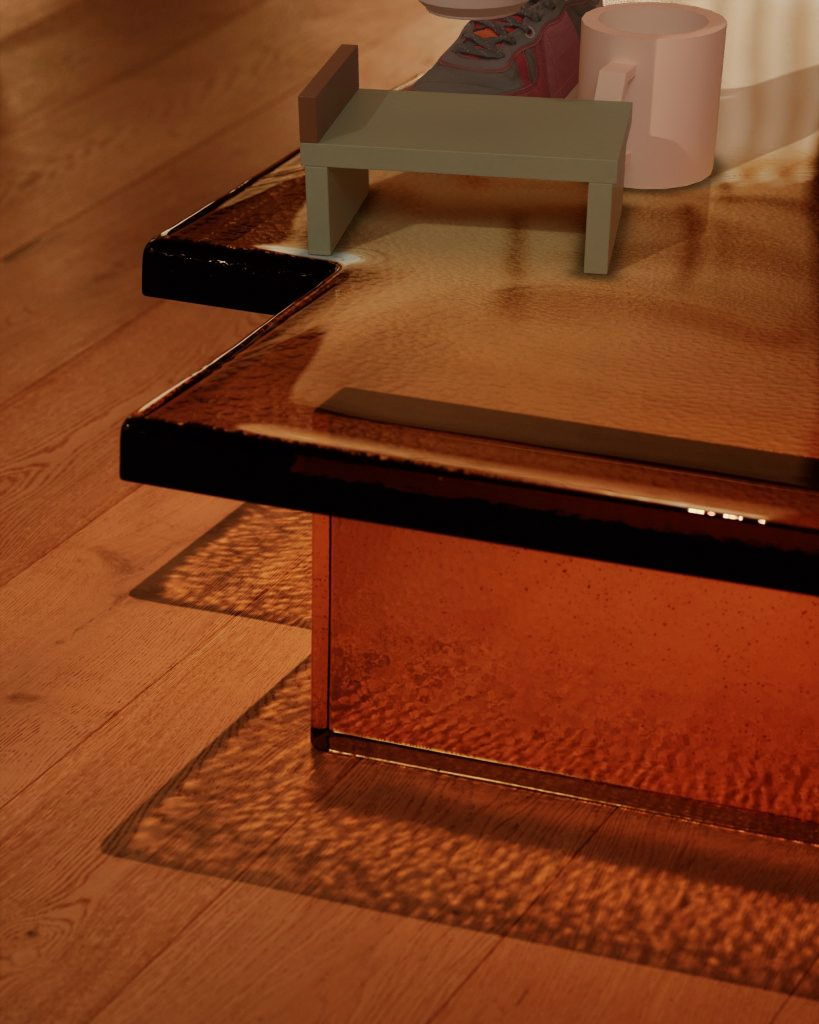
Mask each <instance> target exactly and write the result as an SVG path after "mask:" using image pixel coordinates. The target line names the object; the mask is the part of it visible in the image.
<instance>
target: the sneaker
mask: <svg viewBox="0 0 819 1024" xmlns="http://www.w3.org/2000/svg"><path fill="white" fill-rule="evenodd" d="M603 6H604V1H603V0H529V1H528V2H527V3H525V4H524V5H523V6H522V7H521V9H520V11H519V12H517V13H515V14H513V15H510V16H507V17H503V18H497V19H490V20H468V22H467V23H466V24H465V25H464V26H463V28H462V30H461V31H460V34H459V35H458V37H457V38H456V40H455V41H454V42H453V43H452V44H451V45H450V46H449V47H448V48H447V49H446V50H445V51H444V52H443V53H442V54H441V56H439V58H438V59H437V61H436V62H435V63H434V64H433V66H431V68H429V69H428V70H427V71H426V72H424V74H423V75H422V76H421V77H420V78H418V79H417V80H416V81H415V82H414V83H412V85H410V87H408V88H407V89H406V91H421V92H441V93H460V94H480V95H500V96H520V97H540V98H560V99H578V82H579V61H580V40H581V19H582V17H583V16H584V14H585V13H586V12H588V11H591V10H593V9H595V8H598V7H603Z"/></svg>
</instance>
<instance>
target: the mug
mask: <svg viewBox="0 0 819 1024" xmlns="http://www.w3.org/2000/svg"><path fill="white" fill-rule="evenodd" d="M727 27H728V21H727V19H726V18H725V17H724V16H723V15H722V14H719V13H717V12H716V11H713V10H711V9H707V8H704V7H700V6H695V5H690V4H684V3H683V4H682V3H675V2H661V1H637V2H636V1H633V2H631V1H630V2H622V3H613V4H608V5H607V4H606V5H603V7H598V8H595V9H593V10H591V11H588V12H586V13H585V14H584V16H583V17H582V19H581V40H580V61H579V82H578V99H580V100H600V101H620V102H633V108H632V123H631V127H630V132H629V136H628V140H627V144H626V158H625V174H624V188H626V189H635V190H669V189H675V188H682V187H688V186H691V185H693V184H697V183H700V182H702V181H704V180H706V179H707V178H708V177H710V176H711V175H712V173H713V170H714V166H715V165H714V164H715V155H716V143H717V135H718V134H717V132H718V124H719V123H718V121H719V113H720V112H719V111H720V103H721V102H720V101H721V93H722V92H721V91H722V81H723V80H722V79H723V70H724V59H725V48H726V38H727Z"/></svg>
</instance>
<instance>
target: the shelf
mask: <svg viewBox="0 0 819 1024" xmlns="http://www.w3.org/2000/svg"><path fill="white" fill-rule="evenodd" d="M359 62H360V61H359V45H358V44H349V43H346V44H345V43H344V44H343V43H341V44H340V45H339V46H338V47H337V49H336V50H335V51H334V52H333V53H332V55H331V56H330V57H329V58H328V59H327V61H326V62H325V63H324V64H323V65H322V67H321V68H320V69H319V70H318V72H317V73H316V74H315V75H314V76H313V78H312V79H310V81H309V82H308V83H307V85H306V86H305V87H304V88H303V90H301V92H300V93H299V94H298V95H297V105H298V107H297V108H298V129H299V132H298V133H299V153H300V155H299V156H300V166H302V167H304V175H305V176H304V179H305V180H304V181H305V203H306V204H305V205H306V224H307V225H306V227H307V229H306V230H307V249H308V250H307V251H308V255H313V256H326V257H327V256H328V257H329V256H331V255H332V254H333V252H334V251H335V249H336V248H337V246H338V244H339V242H340V240H341V239H342V238H343V236H344V234H345V233H346V231H347V230H348V228H349V226H350V225H351V223H352V222H353V219H354V218H355V216H356V214H357V213H358V212H359V210H360V208H361V207H362V205H363V203H364V202H365V200H366V198H367V197H368V195H369V193H370V170H371V171H386V172H387V171H388V172H404V173H405V172H406V173H420V174H422V173H423V174H437V175H442V174H443V175H454V176H470V177H471V176H474V177H488V178H489V177H490V178H506V179H522V180H523V179H525V180H540V181H541V180H542V181H556V182H557V181H559V182H573V183H588V184H587V204H586V223H585V241H584V243H585V244H584V260H583V261H584V262H583V274H589V275H590V274H591V275H604V276H605V275H606V276H607V275H608V273H609V268H610V264H611V260H612V255H613V252H614V246H615V241H616V238H617V233H618V229H619V224H620V220H621V215H622V210H623V205H624V203H623V202H624V174H625V158H626V144H627V140H628V136H629V132H630V127H631V123H632V108H633V102H620V101H600V100H580V99H560V98H540V97H520V96H500V95H480V94H460V93H441V92H421V91H407V90H398V89H397V90H396V89H381V88H379V89H378V88H362V87H361V88H360V73H359V72H360V68H359V67H360V65H359V64H360V63H359Z"/></svg>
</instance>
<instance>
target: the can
mask: <svg viewBox="0 0 819 1024" xmlns="http://www.w3.org/2000/svg"><path fill="white" fill-rule="evenodd" d="M417 1H418V2H419V3H420V4H421V5H423V6H424V8H425V9H426V11H427V12H428V13H429V14H431V15H433V16H436V17H440V18H445V19H447V20H448V19H449V20H456V21H457V20H459V21H470V20H490V19H497V18H503V17H507V16H510V15H513V14H515V13H517V12H519V11H520V9H521V7H522V6H523V5H524V4H525V3H527V2H528V1H529V0H417Z"/></svg>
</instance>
